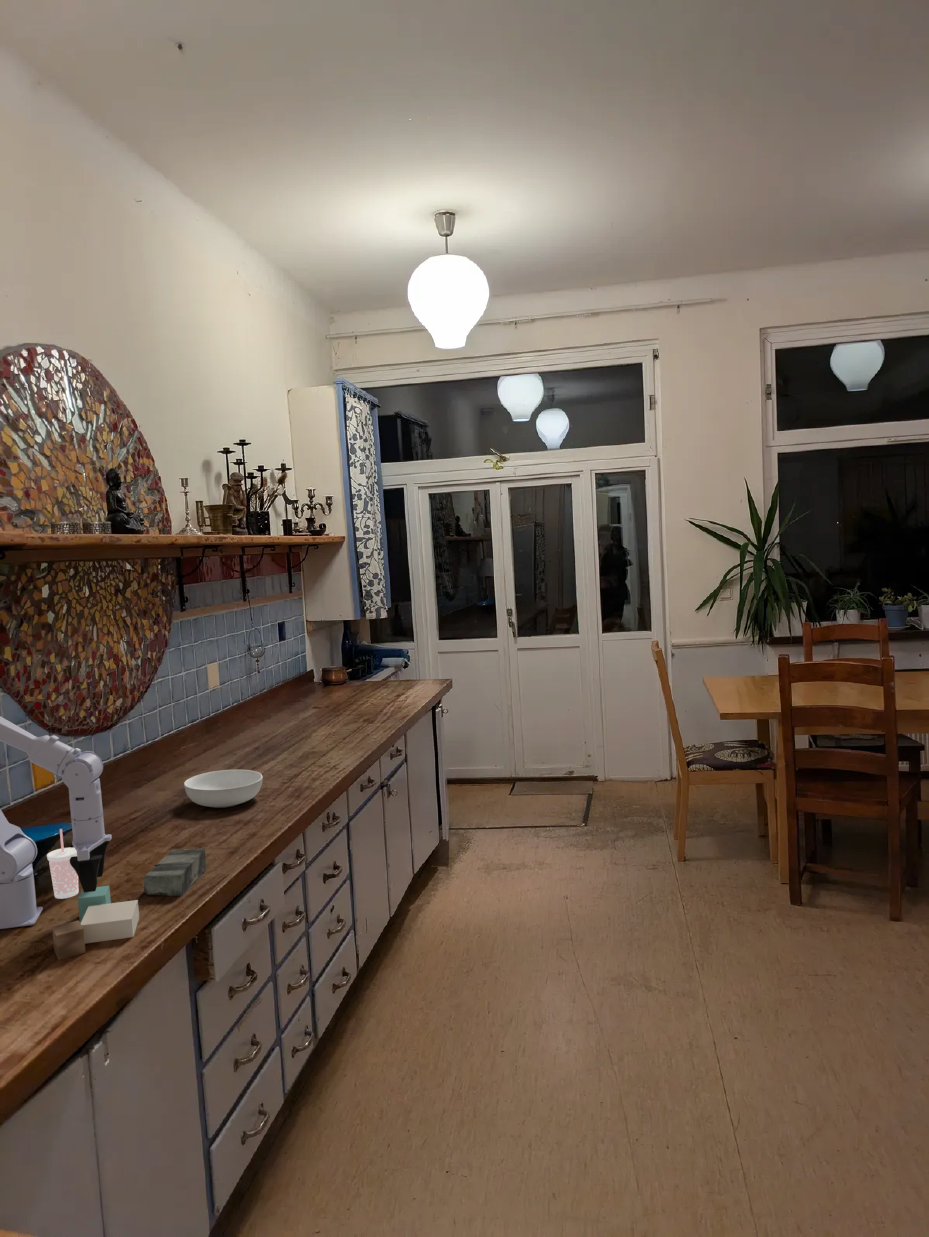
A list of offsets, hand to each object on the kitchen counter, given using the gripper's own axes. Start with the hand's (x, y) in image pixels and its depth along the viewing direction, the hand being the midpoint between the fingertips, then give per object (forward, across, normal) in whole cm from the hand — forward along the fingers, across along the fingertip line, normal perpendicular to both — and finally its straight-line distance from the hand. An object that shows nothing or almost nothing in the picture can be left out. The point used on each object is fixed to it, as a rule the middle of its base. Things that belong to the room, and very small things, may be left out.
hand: (93, 883), depth 177 cm
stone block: (+7, +13, -14) cm, 20 cm away
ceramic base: (+6, -8, -4) cm, 11 cm away
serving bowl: (+7, +70, -22) cm, 74 cm away
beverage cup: (+7, +14, +8) cm, 18 cm away
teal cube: (+7, 0, 0) cm, 7 cm away
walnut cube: (+7, -15, +2) cm, 17 cm away
